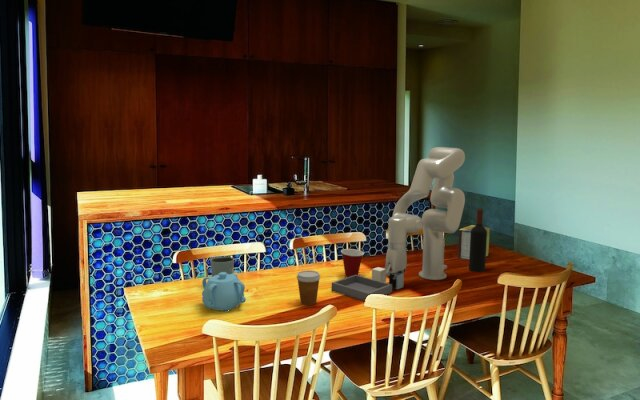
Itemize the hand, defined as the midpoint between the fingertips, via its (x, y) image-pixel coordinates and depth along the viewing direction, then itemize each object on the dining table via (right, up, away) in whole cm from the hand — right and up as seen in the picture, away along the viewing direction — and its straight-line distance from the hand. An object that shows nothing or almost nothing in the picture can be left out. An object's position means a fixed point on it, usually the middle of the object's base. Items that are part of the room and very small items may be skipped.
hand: (396, 285), depth 230 cm
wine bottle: (+43, +3, +26) cm, 51 cm away
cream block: (-7, 0, +8) cm, 10 cm away
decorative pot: (-71, -4, -23) cm, 75 cm away
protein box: (+48, +7, +50) cm, 70 cm away
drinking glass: (-76, 0, +2) cm, 76 cm away
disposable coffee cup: (-38, -4, -19) cm, 43 cm away
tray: (-16, -2, -6) cm, 17 cm away
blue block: (0, -1, 0) cm, 1 cm away
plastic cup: (-18, +2, +16) cm, 24 cm away
